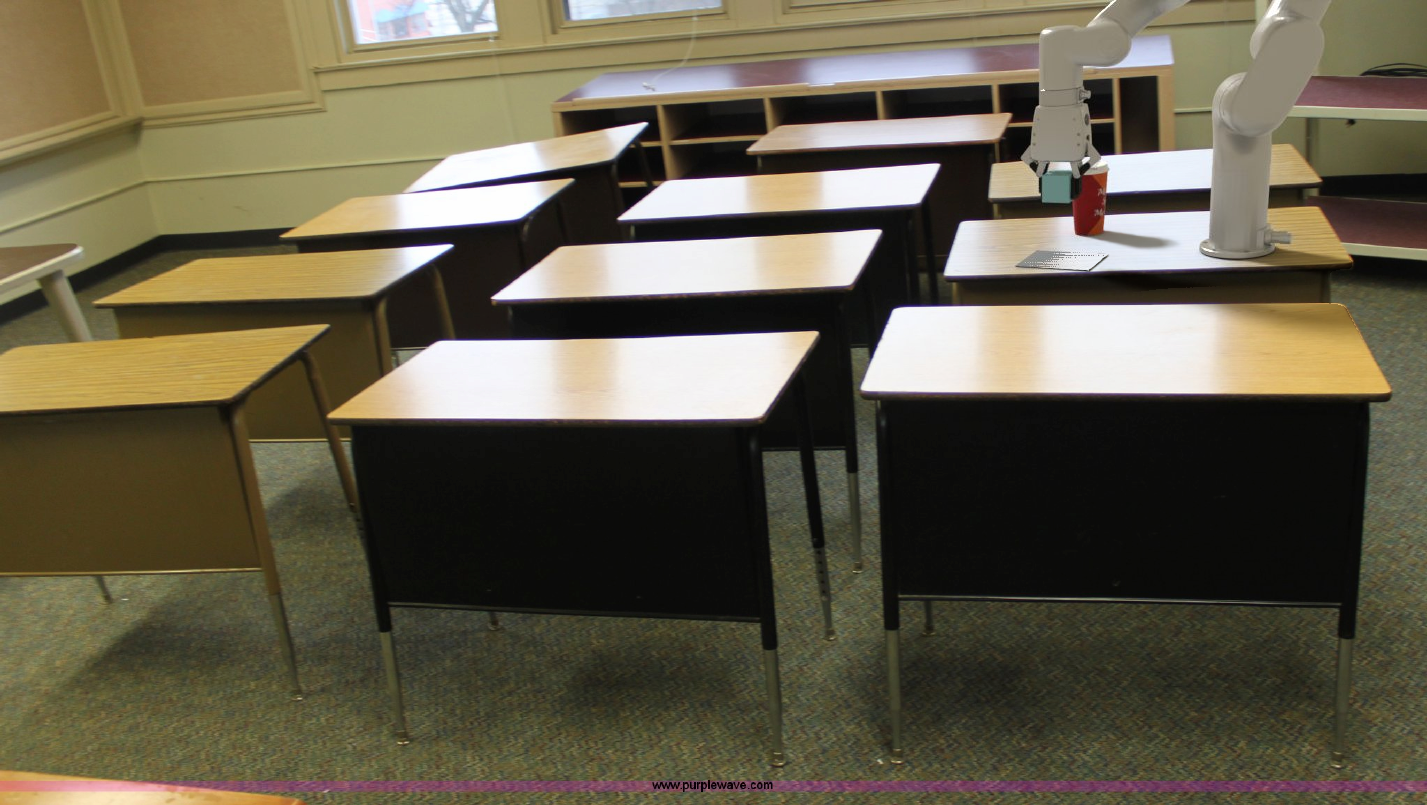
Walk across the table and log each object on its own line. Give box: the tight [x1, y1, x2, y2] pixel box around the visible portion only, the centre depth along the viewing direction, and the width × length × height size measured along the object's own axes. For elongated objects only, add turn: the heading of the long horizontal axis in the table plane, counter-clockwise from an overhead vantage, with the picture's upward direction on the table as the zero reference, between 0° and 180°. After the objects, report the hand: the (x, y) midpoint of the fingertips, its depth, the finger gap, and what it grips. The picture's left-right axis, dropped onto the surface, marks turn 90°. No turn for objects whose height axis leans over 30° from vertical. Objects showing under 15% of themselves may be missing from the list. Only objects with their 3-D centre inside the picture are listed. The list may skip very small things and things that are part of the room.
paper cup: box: [1070, 160, 1110, 237], centre depth 229 cm, size 8×8×14 cm
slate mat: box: [1015, 249, 1104, 268], centre depth 215 cm, size 14×11×1 cm
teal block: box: [1041, 169, 1073, 204], centre depth 210 cm, size 5×5×5 cm
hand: (1060, 196), depth 210 cm, fingers closed on teal block, 4 cm apart
